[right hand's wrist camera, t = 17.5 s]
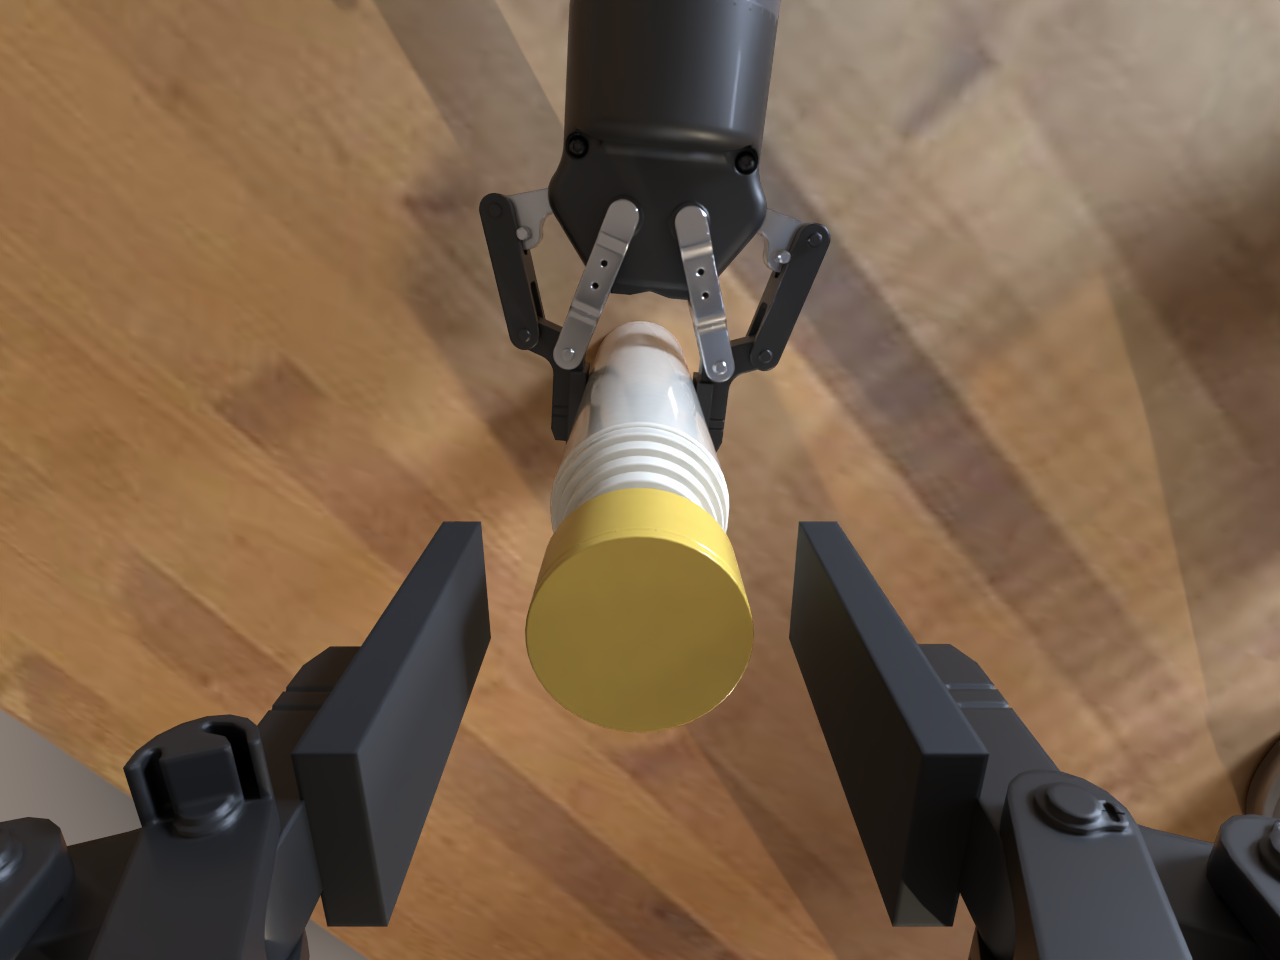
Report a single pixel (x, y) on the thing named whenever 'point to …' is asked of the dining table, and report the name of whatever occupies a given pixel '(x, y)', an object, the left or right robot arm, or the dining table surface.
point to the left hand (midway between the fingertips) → (635, 452)
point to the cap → (639, 612)
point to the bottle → (639, 428)
